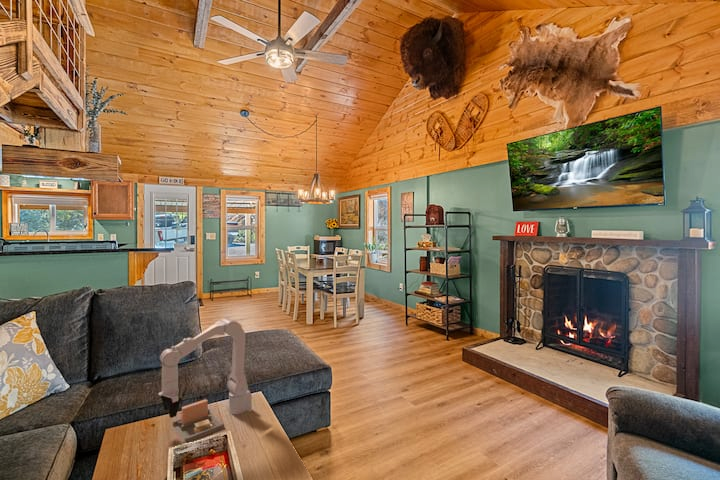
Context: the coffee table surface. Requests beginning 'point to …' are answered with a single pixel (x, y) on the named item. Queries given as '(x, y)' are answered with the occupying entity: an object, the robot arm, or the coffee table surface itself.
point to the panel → (194, 411)
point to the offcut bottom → (203, 429)
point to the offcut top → (202, 425)
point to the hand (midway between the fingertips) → (170, 413)
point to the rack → (188, 429)
